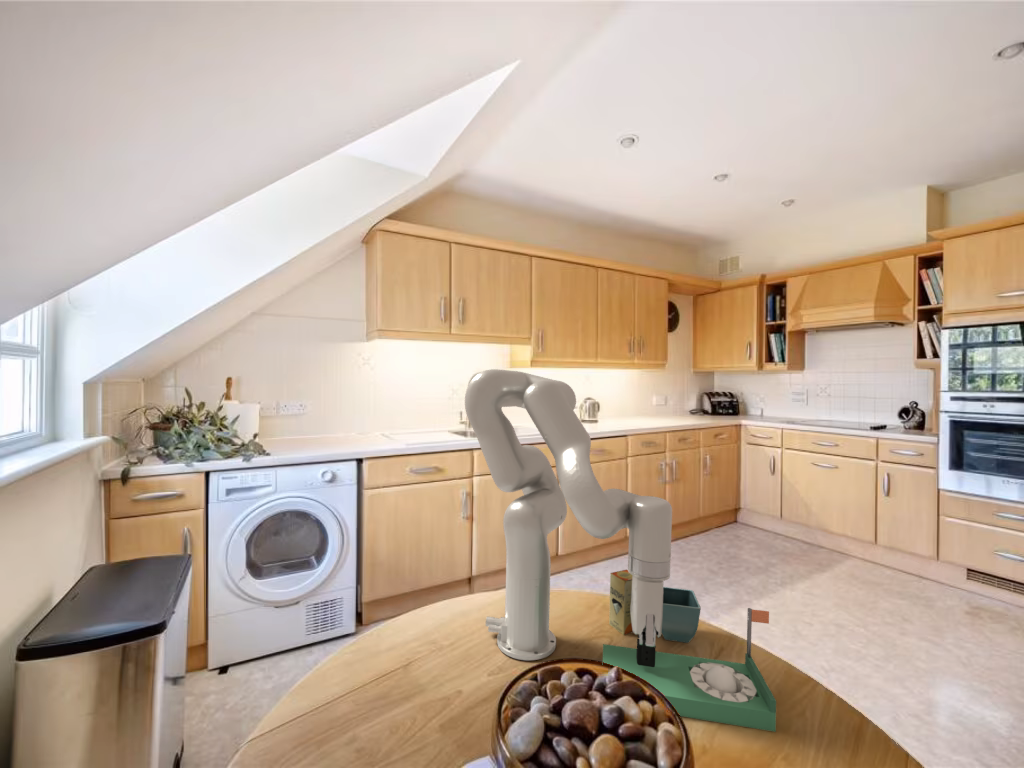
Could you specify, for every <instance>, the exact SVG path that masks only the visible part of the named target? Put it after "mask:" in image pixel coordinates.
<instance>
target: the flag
mask: <svg viewBox="0 0 1024 768" xmlns="http://www.w3.org/2000/svg"><path fill="white" fill-rule="evenodd" d="M746 618H747V623H746V624H747V625H746V626H747V627H746V628H747V629H746V631H747V632H746V653H747V657H749V658H751V657H752V628H753V627H752V623H759V624H770V610H768V611H767V610H760V609H759V610H758V609H753V608H751V607H748V608H747V617H746ZM746 667H747V665H746Z"/></svg>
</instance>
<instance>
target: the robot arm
mask: <svg viewBox="0 0 1024 768" xmlns="http://www.w3.org/2000/svg"><path fill="white" fill-rule="evenodd" d="M576 397H577V396H576V393H575V391H574V389H573V388H572V386H570V385H569V384H568V383H566V382H564V381H561V380H557V379H552V378H549V377H547V378H546V377H544V376H539V375H535V374H531V373H528V372H523V371H517V370H507V369H498V368H497V369H496V368H495V369H494V368H493V369H492V368H491V369H486V370H483V371H480V372H479V373H477V374H476V375H474V376H473V378H472V379H471V380H470V382H469V383H468V385H467V388H466V391H465V394H464V408H465V413H466V417H467V419H468V421H469V424H470V426H471V428H472V430H473V432H474V434H475V436H476V439H477V441H478V444H479V447H480V450H481V452H482V454H483V458H484V459H485V462H486V465H487V467H488V470H489V472H490V475H491V478H492V480H493V482H494V484H495V485H496V488H497V489H499V490H500V491H502V492H505V493H514V492H518V491H522V494H523V495H522V496H519V497H517V498H515V499H514V500H513V501H511V502H510V504H509V505H508V506H507V508H506V509H505V512H504V514H503V519H502V521H503V522H502V524H503V533H504V539H505V552H506V555H505V557H506V559H505V560H506V563H505V607H504V616H500V618H498V617H494V616H486V619H485V627H488V630H487V631H488V632H489V633H496V634H497V633H498V634H497V636H496V639H497V640H496V641H497V642H496V644H497V647H498V649H499V650H500V651H501V652H502V653H503V654H505V655H506V656H507V657H510V658H513V659H515V660H519V661H520V660H521V661H536V660H537V661H538V660H543V659H545V658H547V657H549V656H550V655H552V653H554V652H555V650H556V647H557V638H556V636H555V633H553V632H552V630H550V604H551V603H550V600H551V596H550V595H551V552H550V548H549V544H548V535H549V534H550V533H551V532H553V531H555V530H556V529H557V528H559V527H560V526H561V525H563V524H564V522H565V521H566V517H567V513H568V507H569V509H570V510H571V512H572V514H573V515H574V517H575V519H576V520H577V522H578V523H579V524H580V526H581V528H582V529H583V530H584V531H585V532H586V533H587V534H588V535H590V536H591V537H593V538H596V539H601V540H605V539H610V538H612V537H613V536H615V535H616V534H618V533H619V531H621V530H623V529H626V528H627V529H628V555H627V557H628V558H627V570H628V572H629V573H630V574H631V575H633V576H632V591H631V606H630V614H631V623H632V630H633V634H634V635H636V636H637V638H636V649H637V653H636V659H637V664H638V665H641V666H648V667H655V652H656V647H657V646H656V637H657V638H661V636H662V619H663V587H664V582H665V581H667V580H669V579H670V578H671V561H672V559H671V556H672V555H671V554H672V529H673V528H672V526H673V508H672V505H671V503H670V502H669V501H668V500H667V499H664V498H662V497H657V496H653V495H652V496H651V495H650V496H649V495H638V494H636V493H633V492H629V491H626V490H622V489H620V488H608V489H606V490H603V487H601V484H600V483H599V481H598V480H597V477H596V476H595V475H596V474H595V473H594V471H593V468H592V467H593V466H592V465H591V464H592V463H591V458H590V455H591V454H590V453H591V447H592V440H591V437H590V434H589V432H588V430H586V428H585V426H584V424H583V423H582V422H581V420H580V419H579V418H578V416H577V414H576V413H575V411H574V410H575V408H576V404H577V398H576ZM507 407H509V408H510V407H517V408H521V409H525V410H526V412H527V414H528V416H529V417H530V419H531V420H532V422H533V424H534V426H535V427H536V429H537V431H538V432H539V434H540V435H541V438H542V439H543V441H544V442H545V444H546V446H547V447H548V449H549V451H550V453H551V455H552V456H553V459H554V462H555V469H556V470H555V471H556V474H557V476H556V474H555V472H554V469H553V467H552V465H551V463H550V461H549V459H548V457H547V456H546V454H545V453H544V452H543V451H542V450H541V449H539V448H538V447H536V446H534V445H529V444H524V445H522V444H521V442H520V439H519V437H518V436H517V433H516V431H515V428H514V426H513V424H512V422H511V421H510V419H508V417H507V415H505V413H504V412H503V409H502V408H507ZM557 478H558V479H557ZM567 505H568V506H567Z"/></svg>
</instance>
